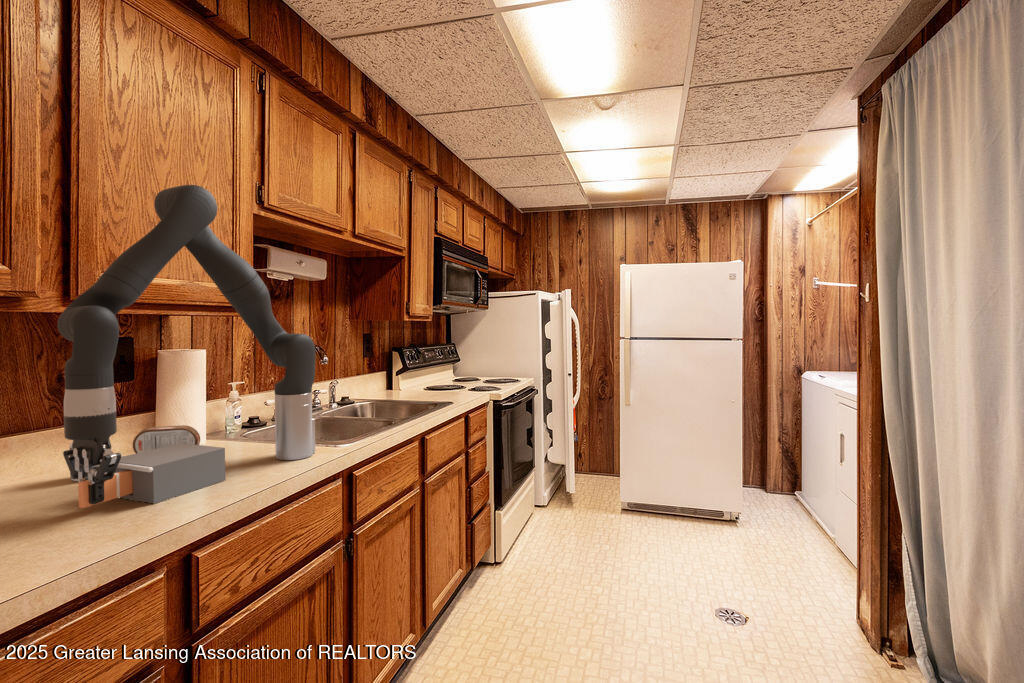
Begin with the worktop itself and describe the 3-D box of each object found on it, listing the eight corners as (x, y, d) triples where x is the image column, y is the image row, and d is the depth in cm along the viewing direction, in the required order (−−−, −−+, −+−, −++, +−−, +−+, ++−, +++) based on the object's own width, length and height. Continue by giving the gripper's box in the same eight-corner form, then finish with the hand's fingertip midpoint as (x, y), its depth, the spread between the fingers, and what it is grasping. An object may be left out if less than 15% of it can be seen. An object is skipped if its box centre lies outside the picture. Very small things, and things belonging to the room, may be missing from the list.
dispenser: (181, 474, 117) (180, 443, 117) (225, 480, 112) (224, 447, 112) (101, 497, 101) (100, 461, 101) (148, 505, 96) (147, 467, 96)
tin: (200, 453, 137) (200, 423, 137) (198, 456, 134) (197, 425, 134) (135, 458, 132) (134, 427, 131) (131, 461, 129) (130, 429, 129)
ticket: (173, 479, 109) (173, 458, 109) (177, 479, 108) (177, 458, 108) (78, 507, 92) (78, 482, 92) (83, 508, 91) (82, 483, 91)
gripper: (136, 410, 94) (138, 499, 95) (89, 406, 99) (92, 492, 99) (91, 416, 87) (94, 513, 88) (43, 412, 92) (46, 504, 92)
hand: (93, 501), depth 94 cm, fingers closed
